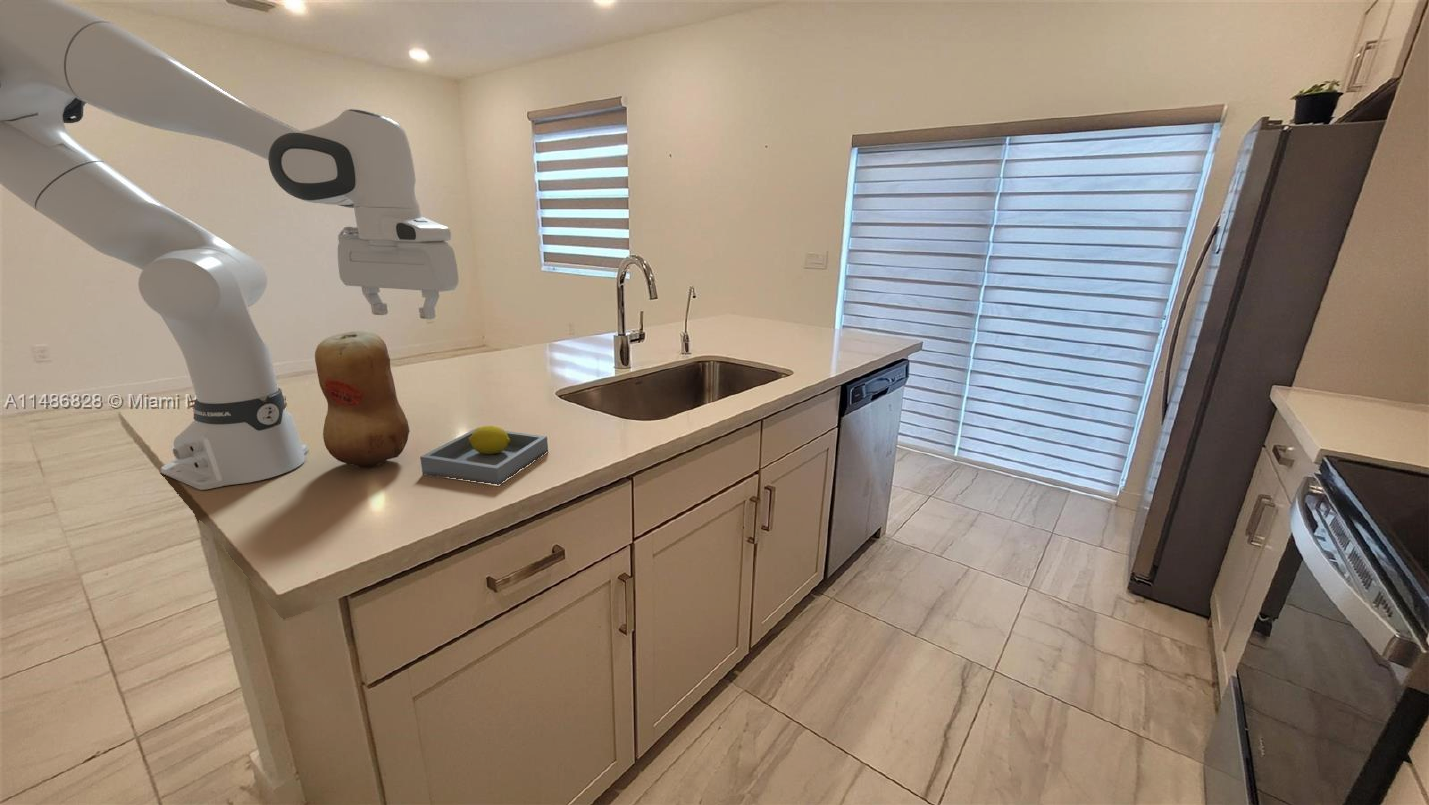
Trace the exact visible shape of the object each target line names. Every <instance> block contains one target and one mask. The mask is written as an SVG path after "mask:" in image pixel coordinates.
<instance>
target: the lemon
mask: <svg viewBox="0 0 1429 805" xmlns="http://www.w3.org/2000/svg"><path fill="white" fill-rule="evenodd" d="M477 428H478V427H477ZM475 429H476V428H475ZM505 431H506V430H505V429H503V428H501V427H499V426H494V425H483V426H479V428H478V429H476V430H475V431H474V432H473V434H472V436H471V437H470V438H469V442H470V443H471V445H472V447H473V448H474V449H475V450H476V451H477V452H479V453H483V454H495V453H499V452H501V451H503V450H504V449H505V448H506V447H507V445H508V443H509V442H510V439H509V437H508V435H507V433H506V432H505Z"/></svg>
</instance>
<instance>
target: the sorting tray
mask: <svg viewBox="0 0 1429 805" xmlns="http://www.w3.org/2000/svg"><path fill="white" fill-rule="evenodd" d="M478 428H480V426H479V427H477V428H475V429H472V430H470V431H468V432H467V433H465V434H463V435H460V436H459V437H457V438H455V439H452V440H450V441H448V442H446V443H445V444H442V445H441V446H439V447H437V448H435V449H433V450H431V451H429V452H427V453H424V454H423V455H421V456H420V458H419V459H420V464H421V472H422V475H423V474H426V475H425V476H429V475H432V476H431V477H435V476H439V477H438V478H442V477H449V478H456V479H463V480H470V481H476V482H484V483H491V484H497V485H499V484H501V483H502V482H503V481H505V480H506V479H507V478H509V477H511V476H513V475H514V474H516V473H517V472H518V471H519V470H520V469H522V468H525V467H526V466H527V465H529V464H530V463H532V462H533V461H534V460H537V459H538V458H540V457H541V456H542V455H544V454H545V453H546V452H548V453H549V446H548V445H549V444H548V435H547V436H546V435H541V434H540V435H538V434H531V433H524V432H518V431H517V432H516V431H509V430H508V431H507V430H504V431H505V432H506V433H507V435H508V437H509V439H510V442H509V443H508V445H507V447H506V448H505V449H504V450H503V451H501V452H499V453H495V454H483V453H479V452H477V451H476V450H475V449H474V448H473V447H472V445H471V443H470V442H469V438H470V437H471V436H472V434H473V432H474V431H475V430H476V429H478ZM545 455H546V454H545ZM545 455H544V456H545ZM541 458H542V457H541ZM541 458H540V459H541ZM538 460H539V459H538ZM538 460H537V461H538ZM525 469H526V468H525Z"/></svg>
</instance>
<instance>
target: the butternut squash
mask: <svg viewBox="0 0 1429 805" xmlns="http://www.w3.org/2000/svg"><path fill="white" fill-rule="evenodd" d="M314 362H315V366H316V367H315V369H316V372H317V373H316V374H317V377H318V378H317V379H318V384H319V387H320V389H321V392H322V394H323V396H324V398H325V399H326V402H327V411H326V416H325V419H324V423H323V424H324V425H323V430H322V438H323V443H324V446H325V448H326V450H327V451H328V453H329V454H330V455H331V456H332V457H333V458H334V459H336V460H337V461H339V463H340V462H341V463H343V464H347V465H351V466H356V467H358V468H359V467H360V468H374V467H378V466H380V465H381V463H383V462H386V461H388V460H392V459H396V458H398V457H399V456H400V455H401V454H402V452H403V451H404V448H405V447H406V445H407V443H408V439H409V433H410V426H409V421H408V419H407V417H406V415H405V412H404V410H403V408H402V407H401V405H400V402H399V400H398V396H397V391H396V390H397V389H396V385H395V381H394V376H393V374H392V369H391V358H390V354H389V351H388V347H387V345H386V343H385V341H384V340H383V338H381V337H380V336H379V335H378V334H376V333H373V332H369V331H362V330H353V331H349V332H347V331H346V332H344V333H338V334H334V335H331V336H329V337H326V338H324V339H323V340H321V342H319V344H318V345H317V347H316V349H315V353H314Z"/></svg>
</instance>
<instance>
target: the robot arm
mask: <svg viewBox="0 0 1429 805" xmlns="http://www.w3.org/2000/svg"><path fill="white" fill-rule="evenodd" d="M86 104H87V105H89V106H92V107H94V108H97V109H99V110H101V111H103V112H105V113H107V114H111V115H114V116H116V117H119V118H121V119H124V120H127V121H131V122H133V123H137V124H141V125H144V126H148V127H151V128H154V129H158V130H159V129H160V130H163V131H168V132H169V131H170V132H173V133H174V132H175V133H180V134H185V135H189V136H196V137H201V138H205V139H210V140H214V141H219V142H223V143H226V144H229V145H231V146H235V147H237V148H240V149H243V150H245V151H247V152H250V153H252V154H254V155H256V156H258V157H260V158H263V159H265V160H268V167H269V172H270V173H271V175H272V178H273V179H274V181H275V182H276V183H277V185H278V186H279V187H280V189H282V190H283V191H285V193H287V194H288V195H289V196H292V197H293V198H296V199H299V200H302V201H305V202H308V203H313V204H322V205H324V204H325V205H332V206H333V205H334V206H336V205H337V206H340V207H344V208H349V209H350V208H351V209H354V215H355V221H356V227H353V226H345V227H344V228H343V229H342V230H340V232H339V234H338V235H337V237H338V238H337V239H338V244H337V264H338V274H339V278H340V280H341V282H342V283H343V285H345V286H347V287H361V291H362V292H361V293H362V295H363V296H364V297H365V299H366V300H367V302H368V303H369V305H370V308H371V313H372V315H375V316H383V315H385V316H386V315H388V312H389V311H388V304H387V303H385V302H384V303H383V301H382V299H381V297H380V295H379V294H378V293H380V291H381V290H380V289H394V290H406V291H407V290H411V291H421V296H422V298H425V299H424V302H423V306H422V307H418V313H419V318H421V319H423V320H432V319H435V318H436V310H435V307H436V305H437V303H438V301H439V298H440V293H441V292H448V291H449V292H450V291H454V290H456V288H457V286H458V285H459V272H458V271H459V270H458V264H457V258H456V255H455V251H454V249H453V247H452V246H451V244H450V243H449V241H450V240H452V234H451V233H452V232H451V230H450V228H449V227H448V226H446V225H444V224H441V223H438V222H436V221H434V220H431V219H429V218H428V217H424V216H421V215H422V214H421V210H420V205H419V202H418V200H417V197H416V193H415V186H416V173H415V166H414V160H413V155H412V150H411V146H410V142H409V138H408V136H407V134H406V131H405V129H404V128H403V127H402V126H401V125H400V124H399V123H398V122H396V121H394V120H393V119H391V118H390V117H387V116H383V115H381V114H378V113H374V112H370V111H366V110H362V109H353V108H352V109H351V108H350V109H345V110H344V111H342V112H341V113H340V115H338V116H337V117H336V118H334V119H332V120H330V121H328V122H326V123H325V124H324V123H323V124H321V125H319V126H316V127H313V128H309V129H304V130H298V129H297V128H294V127H292V126H290V125H288V124H287V123H284V122H282V121H280V120H278V119H275V118H274V117H272V116H270V115H268V114H266V113H264V112H262V111H259V110H257V109H256V108H253V107H252V106H250V105H248V104H246V103H244V102H243V101H241V100H239V99H237V98H235V97H234V96H232V95H230V94H229V93H227V92H226V91H224V90H223V89H221V88H220V87H218V86H217V85H215V84H213V83H212V82H210V81H208V80H207V79H205V78H204V76H203V77H202V76H201V75H200V74H198V73H196V72H195V71H194V70H192V69H191V68H189V67H187V66H186V65H184V64H182V63H181V62H179V61H178V60H176V59H175V58H174V57H172V56H170V55H169V54H167V53H166V52H165V51H162V50H161V49H159V47H158V48H157V47H156V46H155V45H152V44H151V43H149V42H147V41H146V40H144V39H143V38H141V37H140V36H138V35H136V34H134V33H132V32H130V31H128V30H127V29H125V28H123V27H121V26H119V25H116V24H114V23H113V22H111V21H109V20H107V19H106V18H105V19H104V18H102V17H101V16H98V15H96V14H95V13H92V12H90V11H87V10H85V9H83V8H80V7H78V6H75V5H73V4H71V3H68V2H65V1H63V0H0V184H1V186H2V187H4V188H5V189H6V190H8V191H9V192H11V194H13V195H15V196H16V197H17V198H18V199H19V200H21V201H22V202H24V204H25V203H26V205H28V206H29V207H31V208H33V209H35V211H37V212H38V213H40V214H41V215H43V216H45V217H46V218H48V219H49V220H51V221H52V222H54V223H55V224H57V225H58V226H60V227H62V229H64V230H66V232H68V233H70V234H72V235H73V236H75V237H76V238H78V239H79V240H81V241H83V242H84V243H85V244H87V245H88V246H90V247H92V248H93V249H94V250H96V251H98V252H100V253H101V254H103V255H106V256H108V257H111V258H114V259H117V260H120V261H121V262H124V263H126V264H129V265H131V266H134V267H136V268H138V269H140V270H142V271H141V273H140V274H139V277H138V290H139V294H140V296H141V297H142V298H141V299H142V300H143V301H144V302H145V303H146V305H147V306H148V307H149V308H150V309H151V310H152V311H154V312H156V313H157V314H158V315H160V317H161V318H162V320H163V321H164V323H165V324H166V326H167V328H168V330H169V331H170V333H171V335H172V336H173V338H174V340H175V341H176V343H177V345H178V346H179V348H180V350H181V352H182V355H183V357H184V360H185V363H186V365H187V369H188V370H187V371H188V373H189V377H190V379H191V382H192V387H193V389H194V391H193V392H194V394H195V396H196V399H193V400H189V401H187V403H188V404H189V403H193V404H191V405H189V408H193V409H192V410H193V417H192V418H193V421H191V423H190V424H189V425H187V427H185V429H184V430H182V432H180V433H179V434H178V435H177V436H175V438H174V440H173V448H172V453H173V456H174V457H175V459H173V460H171V461H170V462H167V463H166V464H164V465H162V466H161V467H160V471H161V474H163V475H166V476H168V477H170V478H172V479H174V480H176V481H179V482H181V483H184V484H185V485H188V486H190V487H193V488H195V489H197V490H199V491H200V490H202V491H205V490H206V491H207V490H210V489H214V488H215V489H216V488H220V487H223V486H225V487H226V486H231V485H239V484H240V485H241V484H247V483H248V484H249V483H253V482H259V481H262V480H266V479H270V478H274V477H277V476H280V475H282V474H285V473H288V472H290V471H292V470H294V469H297V468H299V467H300V466H301V465H303V463H304V462H305V461H306V455H305V454H306V453H307V452H308V450H309V448H308V445H307V444H304V443H302V441H301V438H300V435H299V433H298V429H297V427H296V424H295V422H294V418H293V416H292V414H291V413H290V412H288V411H286V410H285V409H286V406H287V405H286V402H285V399H286V398H285V395H283V390H282V389H281V388H280V387H279V386H278V382H277V377H276V373H275V369H274V365H273V360H272V355H271V351H270V347H269V346H268V344H267V343H266V342H265V341H264V340H263V339H262V336H261V335H260V334H259V332H258V330H257V328H256V325H255V323H254V322H253V319H252V317H251V314H250V311H249V307H251V306H253V305H255V304H256V303H257V302H258V301H259V300H260V299H262V296H263V295H264V293H265V290H266V288H267V285H268V284H267V283H268V279H267V278H268V277H267V274H266V271H265V268H264V267H263V265H261V263H260V262H259V261H258V260H257V259H255V257H253V256H251V255H249V254H248V253H245V251H244V252H243V251H241V250H239V249H238V248H236V247H234V246H233V245H231V244H230V243H228V242H227V241H225V240H223V239H222V238H220V237H219V236H217V235H215V234H214V233H212V232H210V231H209V230H208V229H205V228H204V227H202V226H201V225H199V224H197V223H195V222H194V221H192V220H190V219H188V218H187V217H185V216H183V215H181V214H180V213H178V212H176V211H175V210H173V209H171V208H170V207H168V206H167V205H165V204H163V203H162V202H161V201H159V200H158V199H157V198H155V197H154V196H152V195H151V194H149V193H148V192H147V191H145V189H143V188H141V187H140V186H138V185H137V184H136V183H134V182H133V181H132V180H130V179H129V178H128V177H126V176H125V175H123V174H122V173H120V172H119V171H118V170H116V169H115V168H113V166H111V165H110V164H108V163H107V162H105V161H104V160H103V159H101V158H100V157H98V156H97V155H96V154H95V153H93V152H92V151H90V150H88V149H86V148H85V147H84V146H82V145H81V144H80V143H79V142H78V141H77V140H76V139H74V137H72V135H70V133H69V132H68V130H67V128H66V126H65V124H74V123H79V122H80V121H81V120H82V119H83V117H84V107H85V105H86ZM439 292H440V293H439Z"/></svg>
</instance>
